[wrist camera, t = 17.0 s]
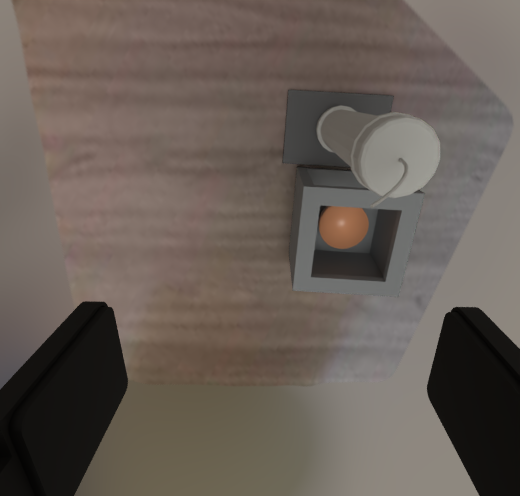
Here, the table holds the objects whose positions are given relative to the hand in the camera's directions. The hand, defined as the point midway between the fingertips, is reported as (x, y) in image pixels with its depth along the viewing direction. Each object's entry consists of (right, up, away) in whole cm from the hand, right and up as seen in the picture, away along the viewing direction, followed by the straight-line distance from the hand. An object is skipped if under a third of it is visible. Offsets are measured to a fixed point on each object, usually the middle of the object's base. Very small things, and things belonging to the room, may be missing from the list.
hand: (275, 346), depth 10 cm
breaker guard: (+11, +8, +40) cm, 42 cm away
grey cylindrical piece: (+9, +18, +35) cm, 40 cm away
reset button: (+11, +7, +38) cm, 40 cm away
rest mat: (+9, +18, +35) cm, 41 cm away
